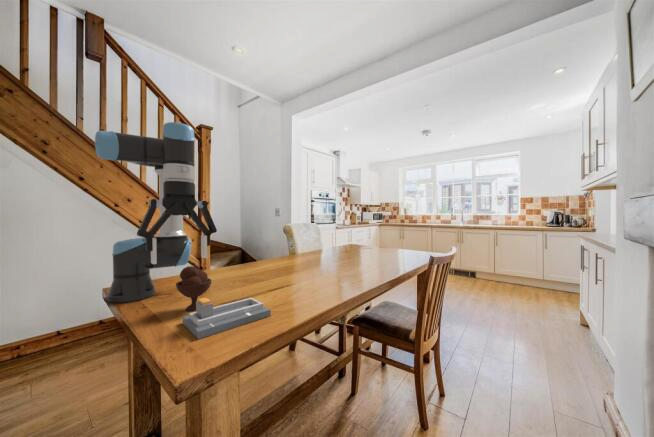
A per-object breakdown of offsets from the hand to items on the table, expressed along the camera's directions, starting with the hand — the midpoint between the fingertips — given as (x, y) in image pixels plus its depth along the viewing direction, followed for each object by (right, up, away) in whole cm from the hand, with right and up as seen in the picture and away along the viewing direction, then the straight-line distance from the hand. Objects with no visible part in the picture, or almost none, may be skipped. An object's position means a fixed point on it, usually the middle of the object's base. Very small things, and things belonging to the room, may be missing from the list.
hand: (180, 260), depth 70 cm
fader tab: (+4, -18, +5) cm, 19 cm away
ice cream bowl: (-6, -20, +19) cm, 28 cm away
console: (+9, -20, +10) cm, 24 cm away
